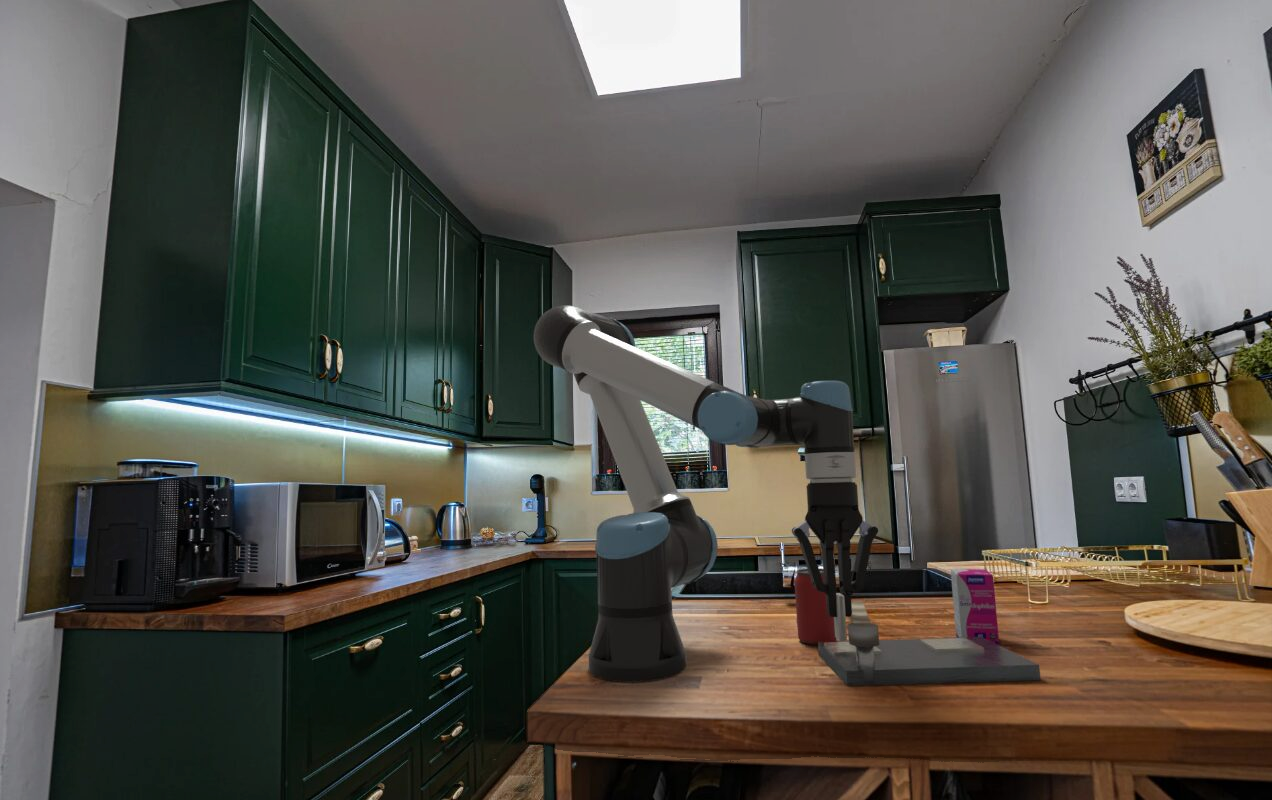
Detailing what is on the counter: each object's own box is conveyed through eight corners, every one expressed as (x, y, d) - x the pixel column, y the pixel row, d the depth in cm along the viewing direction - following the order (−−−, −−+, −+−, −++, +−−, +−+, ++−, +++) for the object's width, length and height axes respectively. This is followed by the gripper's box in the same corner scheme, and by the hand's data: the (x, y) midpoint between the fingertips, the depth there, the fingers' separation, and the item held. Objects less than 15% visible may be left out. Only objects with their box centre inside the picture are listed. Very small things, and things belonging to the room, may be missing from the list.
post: (861, 686, 90) (858, 648, 91) (855, 680, 92) (853, 643, 93) (878, 685, 90) (875, 647, 91) (873, 680, 92) (870, 643, 93)
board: (847, 686, 90) (846, 667, 91) (818, 655, 106) (817, 639, 106) (1040, 680, 90) (1038, 661, 90) (982, 649, 106) (981, 634, 106)
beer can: (790, 640, 117) (786, 570, 118) (820, 635, 119) (815, 567, 121) (815, 648, 111) (810, 574, 112) (845, 642, 114) (840, 570, 115)
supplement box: (961, 644, 109) (954, 573, 111) (955, 635, 115) (949, 568, 116) (1000, 645, 108) (993, 573, 109) (992, 636, 113) (985, 568, 115)
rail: (880, 647, 89) (879, 629, 90) (849, 646, 90) (848, 628, 91) (868, 615, 109) (867, 600, 109) (843, 615, 110) (842, 600, 110)
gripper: (794, 482, 99) (804, 645, 96) (880, 479, 99) (892, 644, 96) (785, 482, 106) (793, 634, 103) (865, 480, 106) (875, 632, 103)
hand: (841, 638), depth 100 cm, fingers closed
